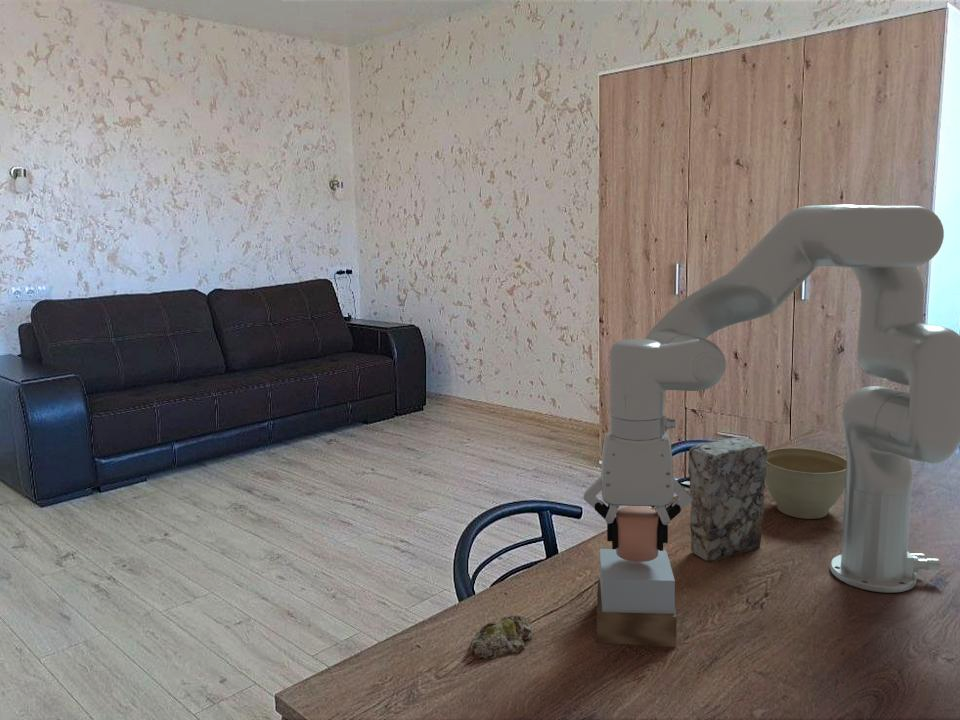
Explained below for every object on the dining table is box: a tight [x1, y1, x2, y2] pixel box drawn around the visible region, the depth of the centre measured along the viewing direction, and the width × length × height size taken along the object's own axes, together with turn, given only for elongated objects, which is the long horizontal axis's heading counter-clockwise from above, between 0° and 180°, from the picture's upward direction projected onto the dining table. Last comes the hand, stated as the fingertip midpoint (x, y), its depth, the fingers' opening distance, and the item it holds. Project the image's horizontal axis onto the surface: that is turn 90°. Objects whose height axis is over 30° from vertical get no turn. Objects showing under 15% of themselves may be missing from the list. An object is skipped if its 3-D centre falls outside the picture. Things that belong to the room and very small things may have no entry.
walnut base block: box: [596, 576, 678, 648], centre depth 112 cm, size 11×11×5 cm
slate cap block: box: [599, 548, 676, 614], centre depth 111 cm, size 10×10×5 cm
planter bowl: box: [765, 447, 846, 520], centre depth 152 cm, size 16×16×11 cm
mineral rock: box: [470, 613, 533, 660], centre depth 109 cm, size 11×4×8 cm
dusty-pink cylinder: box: [616, 506, 659, 562], centre depth 110 cm, size 6×6×6 cm
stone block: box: [687, 436, 769, 563], centre depth 134 cm, size 13×7×20 cm, turn 120°
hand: (637, 545), depth 110 cm, fingers closed on dusty-pink cylinder, 5 cm apart
